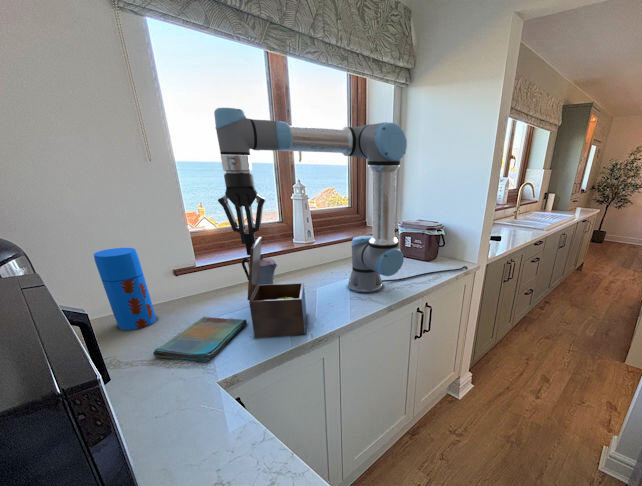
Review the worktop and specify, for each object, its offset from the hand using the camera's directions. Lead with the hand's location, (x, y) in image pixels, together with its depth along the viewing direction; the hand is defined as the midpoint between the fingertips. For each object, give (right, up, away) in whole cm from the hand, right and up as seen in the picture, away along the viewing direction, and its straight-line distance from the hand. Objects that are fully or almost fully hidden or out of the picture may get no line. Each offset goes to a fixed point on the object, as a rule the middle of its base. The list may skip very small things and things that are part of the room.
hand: (250, 253), depth 100 cm
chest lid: (+1, -4, +2) cm, 5 cm away
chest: (+6, -23, +12) cm, 27 cm away
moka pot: (-6, -16, +28) cm, 33 cm away
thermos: (-44, -22, +11) cm, 50 cm away
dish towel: (-15, -27, +2) cm, 31 cm away
